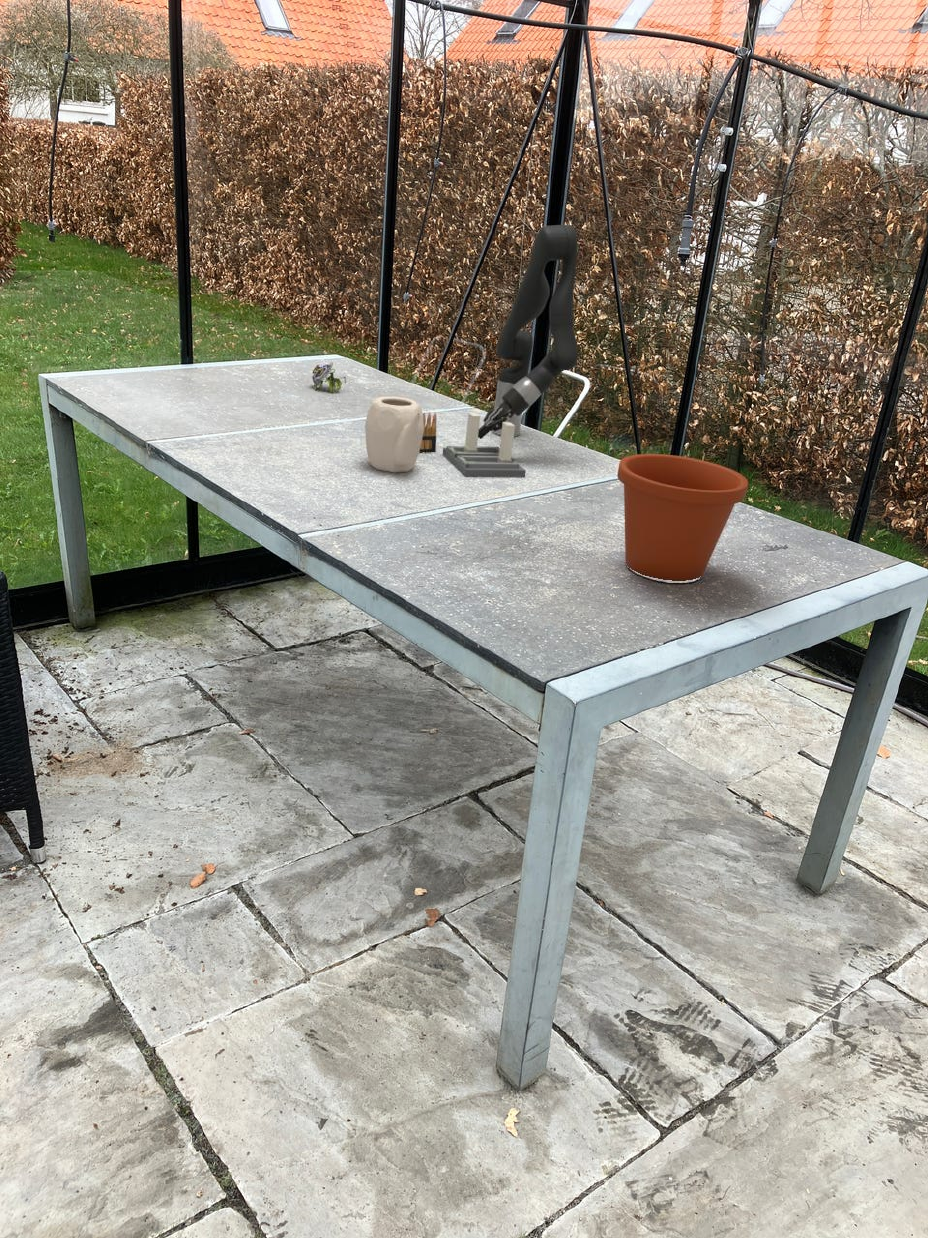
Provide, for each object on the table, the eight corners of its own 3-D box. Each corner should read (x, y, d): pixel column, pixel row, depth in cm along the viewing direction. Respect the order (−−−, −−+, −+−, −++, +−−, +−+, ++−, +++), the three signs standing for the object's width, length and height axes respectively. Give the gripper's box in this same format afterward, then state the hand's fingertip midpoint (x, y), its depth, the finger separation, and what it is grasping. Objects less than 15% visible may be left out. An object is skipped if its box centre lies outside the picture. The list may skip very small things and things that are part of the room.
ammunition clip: (403, 453, 287) (406, 413, 282) (400, 451, 289) (403, 411, 284) (435, 452, 292) (439, 413, 287) (433, 450, 294) (436, 411, 289)
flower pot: (577, 561, 221) (593, 462, 212) (648, 539, 240) (666, 448, 230) (680, 605, 204) (703, 499, 194) (748, 578, 223) (772, 481, 213)
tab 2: (496, 460, 282) (501, 421, 277) (506, 461, 283) (511, 422, 278) (501, 465, 279) (506, 425, 274) (511, 465, 280) (516, 425, 275)
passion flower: (316, 404, 355) (303, 373, 355) (341, 397, 360) (329, 367, 360) (326, 393, 345) (313, 361, 345) (352, 386, 351) (340, 355, 350)
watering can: (388, 484, 258) (393, 414, 250) (349, 456, 279) (353, 390, 271) (440, 481, 265) (446, 413, 258) (398, 454, 286) (403, 390, 278)
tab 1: (463, 450, 288) (467, 412, 283) (472, 451, 289) (477, 412, 284) (467, 454, 285) (471, 415, 280) (477, 454, 286) (481, 416, 281)
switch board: (442, 454, 291) (443, 443, 290) (498, 455, 297) (499, 444, 295) (465, 476, 272) (466, 464, 271) (524, 477, 278) (526, 465, 277)
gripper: (506, 381, 288) (462, 421, 289) (522, 391, 277) (477, 433, 278) (520, 399, 292) (477, 439, 293) (537, 410, 281) (492, 451, 282)
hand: (477, 436), depth 286 cm, fingers closed
